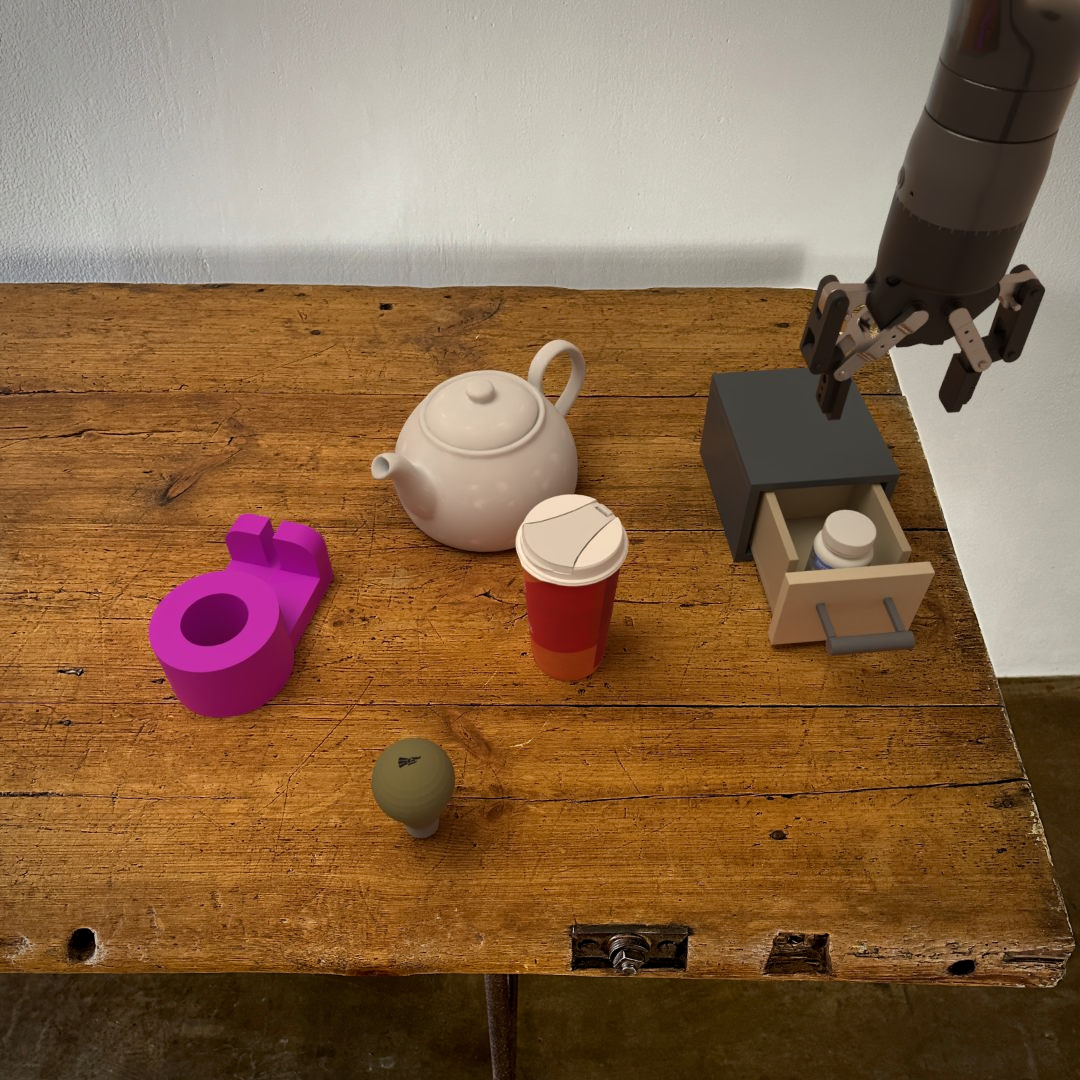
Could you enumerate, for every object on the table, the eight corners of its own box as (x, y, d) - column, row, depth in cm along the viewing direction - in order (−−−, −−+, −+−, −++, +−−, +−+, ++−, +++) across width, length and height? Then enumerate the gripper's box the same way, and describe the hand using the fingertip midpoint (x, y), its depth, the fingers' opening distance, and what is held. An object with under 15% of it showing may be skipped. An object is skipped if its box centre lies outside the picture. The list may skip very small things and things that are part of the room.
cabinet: (871, 551, 88) (901, 473, 81) (733, 562, 88) (751, 484, 80) (823, 442, 98) (846, 364, 91) (699, 450, 97) (712, 373, 90)
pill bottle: (794, 607, 81) (815, 540, 75) (803, 567, 84) (824, 499, 78) (852, 622, 80) (878, 555, 74) (858, 581, 83) (884, 513, 77)
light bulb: (409, 880, 68) (393, 814, 60) (370, 819, 71) (350, 750, 63) (476, 835, 70) (468, 766, 63) (435, 778, 73) (423, 707, 66)
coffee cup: (572, 596, 85) (577, 473, 74) (638, 655, 81) (653, 534, 70) (497, 647, 81) (490, 525, 70) (562, 712, 77) (565, 593, 66)
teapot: (590, 565, 87) (597, 454, 77) (385, 566, 87) (365, 454, 77) (582, 427, 100) (587, 316, 90) (403, 428, 100) (388, 316, 90)
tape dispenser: (261, 729, 76) (243, 684, 71) (148, 701, 78) (123, 656, 73) (341, 577, 86) (330, 530, 82) (240, 556, 88) (223, 508, 83)
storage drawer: (927, 680, 78) (959, 620, 72) (786, 693, 77) (806, 633, 71) (855, 516, 90) (877, 453, 84) (732, 525, 89) (746, 462, 83)
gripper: (865, 233, 53) (805, 452, 65) (1114, 219, 54) (1009, 438, 66) (824, 167, 58) (775, 382, 70) (1053, 155, 59) (966, 369, 71)
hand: (889, 409), depth 68 cm, fingers open, 8 cm apart
